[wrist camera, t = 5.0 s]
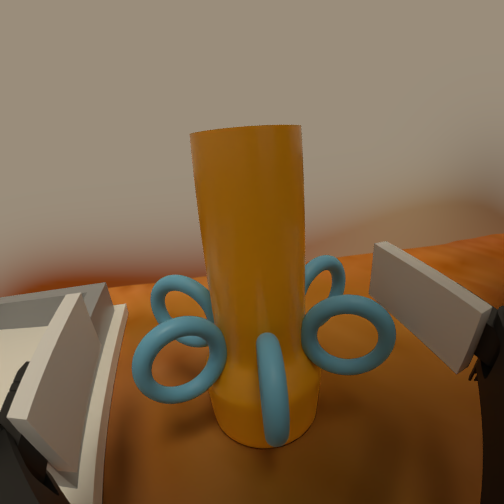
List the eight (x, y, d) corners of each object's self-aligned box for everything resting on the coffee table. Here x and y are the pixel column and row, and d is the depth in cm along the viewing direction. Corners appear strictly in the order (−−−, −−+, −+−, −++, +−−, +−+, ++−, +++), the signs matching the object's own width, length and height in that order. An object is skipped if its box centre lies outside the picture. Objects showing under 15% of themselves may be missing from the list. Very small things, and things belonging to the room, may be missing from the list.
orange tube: (232, 529, 8) (78, 135, 3) (142, 401, 16) (66, 159, 11) (394, 398, 15) (444, 134, 9) (284, 331, 23) (276, 130, 17)
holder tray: (128, 312, 26) (117, 275, 25) (102, 512, 8) (60, 481, 7) (-12, 326, 23) (-25, 297, 21) (-80, 449, 5) (-109, 415, 3)
